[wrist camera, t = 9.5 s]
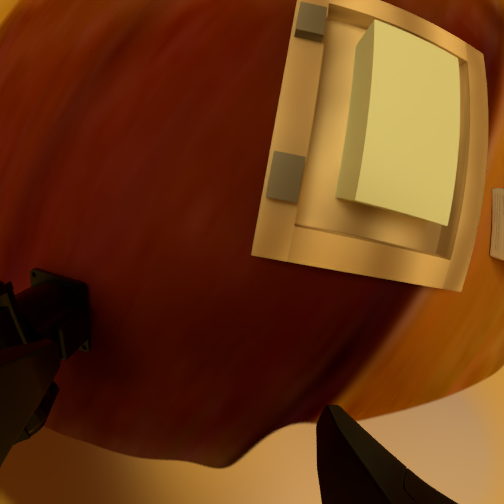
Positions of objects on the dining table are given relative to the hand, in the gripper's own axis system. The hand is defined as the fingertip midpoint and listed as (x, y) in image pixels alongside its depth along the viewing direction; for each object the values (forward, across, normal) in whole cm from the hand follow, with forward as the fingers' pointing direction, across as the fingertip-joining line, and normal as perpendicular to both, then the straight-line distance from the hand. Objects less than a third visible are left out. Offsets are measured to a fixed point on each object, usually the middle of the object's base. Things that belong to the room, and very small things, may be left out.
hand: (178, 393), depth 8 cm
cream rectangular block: (+11, -9, -12) cm, 19 cm away
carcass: (+12, -9, -12) cm, 19 cm away
